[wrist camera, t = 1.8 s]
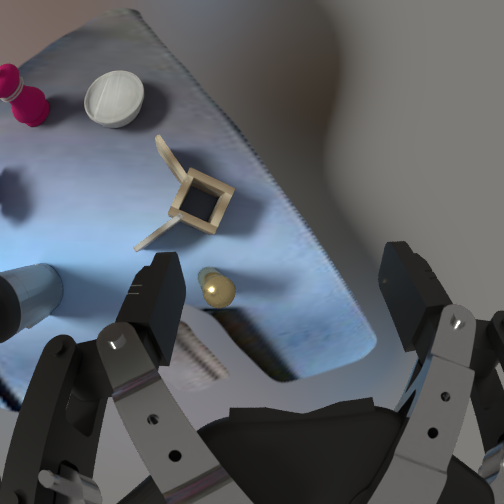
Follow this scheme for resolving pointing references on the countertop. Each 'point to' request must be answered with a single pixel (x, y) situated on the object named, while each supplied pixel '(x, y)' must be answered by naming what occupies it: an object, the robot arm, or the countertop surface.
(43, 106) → the pepper mill
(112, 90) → the ramekin
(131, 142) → the countertop surface
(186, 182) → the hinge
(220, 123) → the countertop surface
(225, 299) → the brass peg
